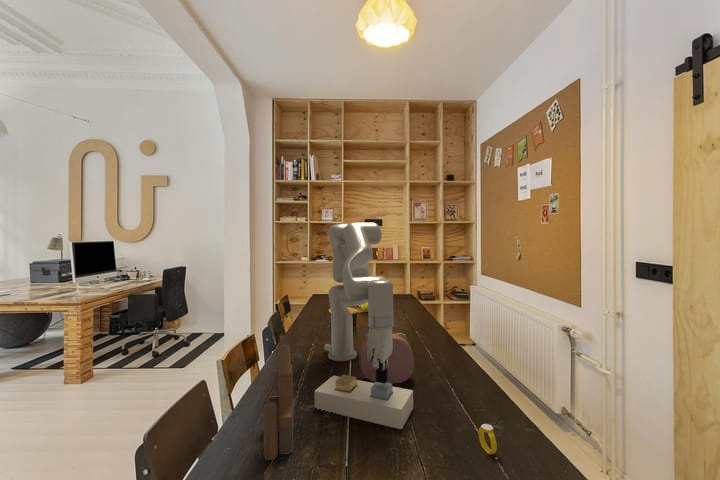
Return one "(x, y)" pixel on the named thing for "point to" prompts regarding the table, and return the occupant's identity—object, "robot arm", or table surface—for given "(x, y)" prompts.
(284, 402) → the wooden toy
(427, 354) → the table surface
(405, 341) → the face sculpture
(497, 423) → the table surface
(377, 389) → the slate-blue button
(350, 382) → the brass button
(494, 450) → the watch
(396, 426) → the button console
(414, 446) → the table surface
